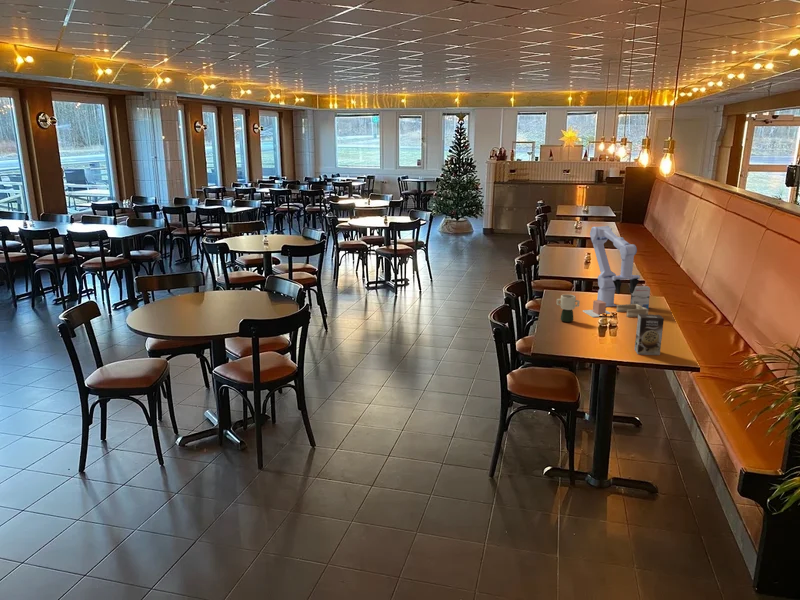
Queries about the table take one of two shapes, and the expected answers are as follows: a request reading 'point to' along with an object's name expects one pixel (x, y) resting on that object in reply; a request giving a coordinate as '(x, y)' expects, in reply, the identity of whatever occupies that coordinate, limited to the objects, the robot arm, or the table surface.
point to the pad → (592, 314)
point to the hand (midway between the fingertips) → (624, 293)
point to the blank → (599, 307)
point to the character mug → (567, 307)
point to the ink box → (641, 296)
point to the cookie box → (649, 334)
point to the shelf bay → (632, 309)
